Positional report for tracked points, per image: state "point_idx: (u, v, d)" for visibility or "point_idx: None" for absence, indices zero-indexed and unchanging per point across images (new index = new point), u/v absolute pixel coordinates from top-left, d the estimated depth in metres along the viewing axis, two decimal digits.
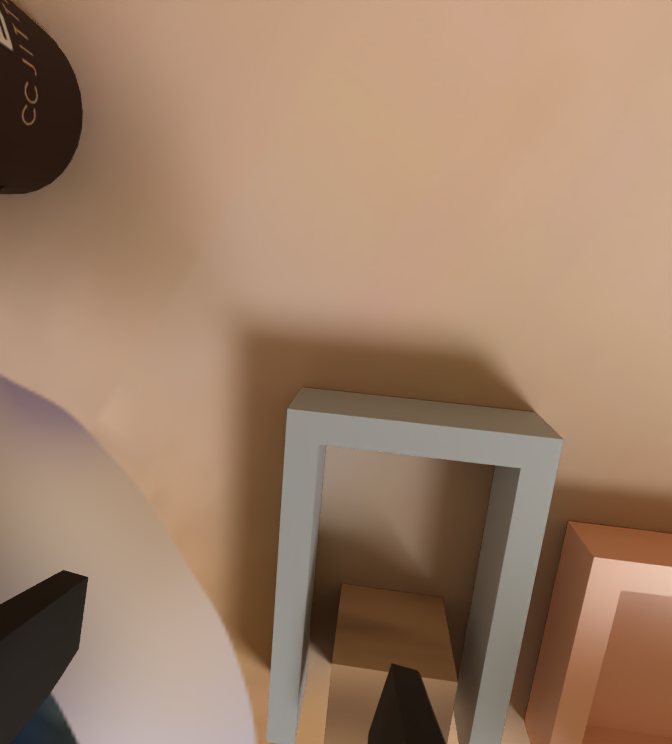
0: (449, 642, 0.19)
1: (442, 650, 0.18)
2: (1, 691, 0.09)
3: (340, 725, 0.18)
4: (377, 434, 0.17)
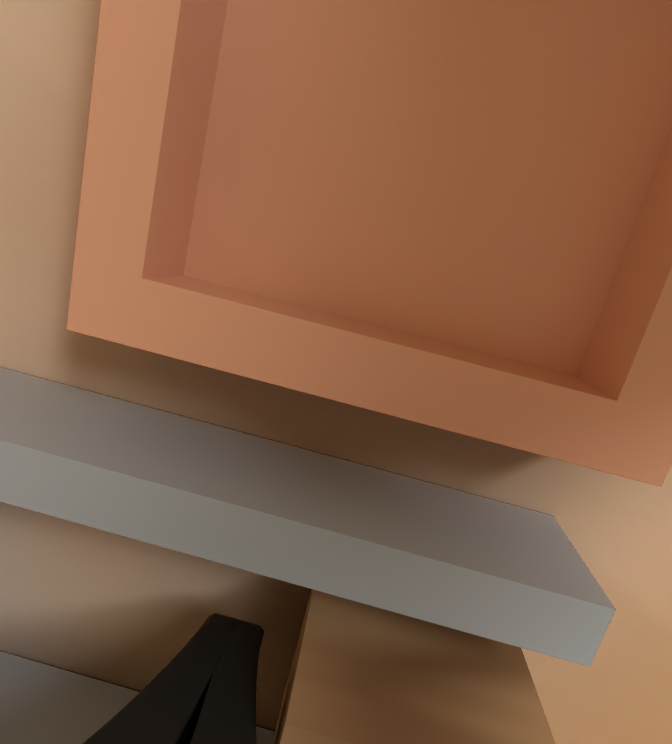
0: (304, 635, 0.09)
1: (295, 669, 0.09)
2: None
3: None
4: None
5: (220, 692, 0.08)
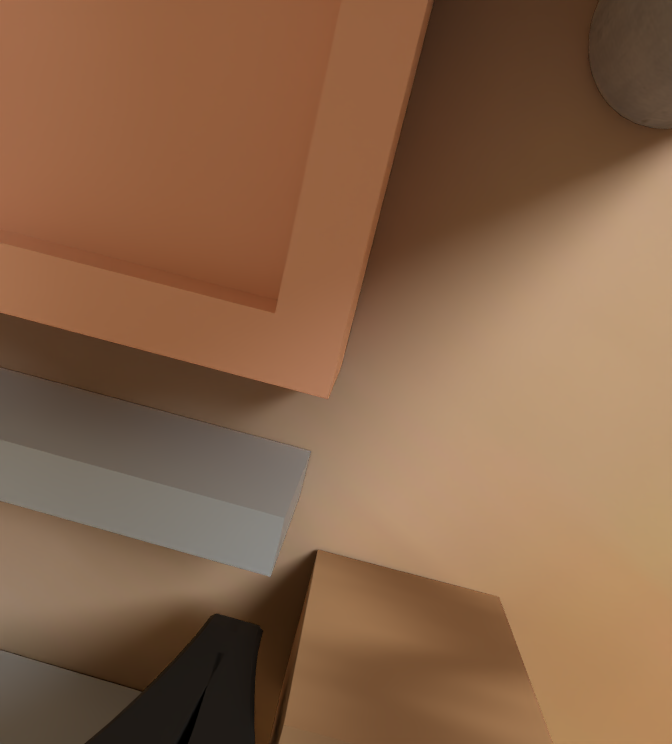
0: (301, 635, 0.09)
1: (293, 669, 0.09)
2: None
3: None
4: None
5: (218, 691, 0.08)
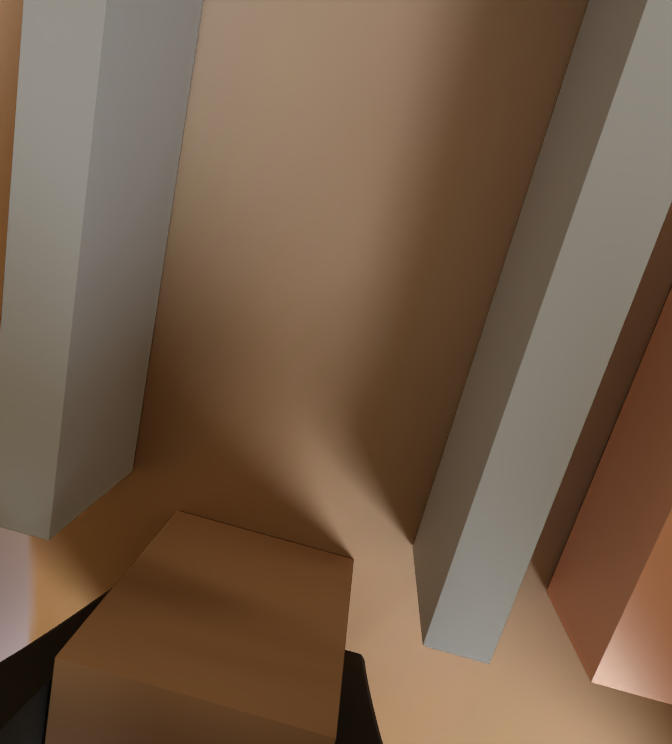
0: (342, 644, 0.09)
1: (323, 660, 0.09)
2: None
3: None
4: None
5: (347, 729, 0.08)
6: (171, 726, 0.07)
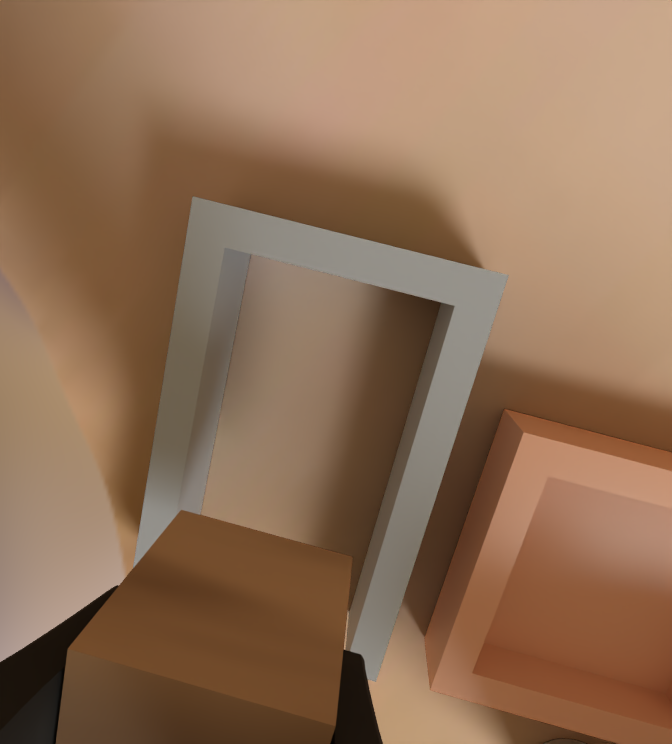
0: (342, 638, 0.09)
1: (323, 652, 0.09)
2: None
3: None
4: (294, 242, 0.14)
5: (347, 729, 0.08)
6: (178, 715, 0.08)
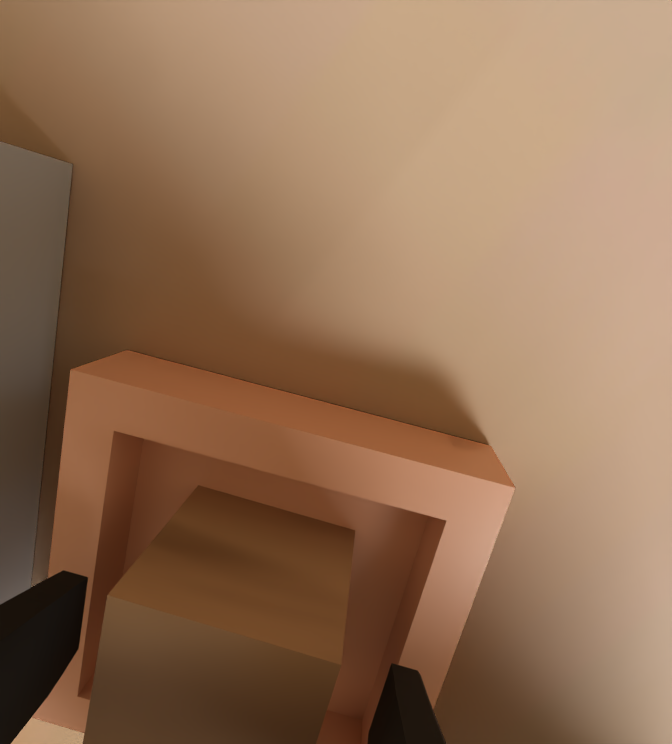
0: (346, 596, 0.10)
1: (330, 607, 0.10)
2: (1, 691, 0.09)
3: (116, 714, 0.09)
4: None
5: None
6: (203, 655, 0.09)
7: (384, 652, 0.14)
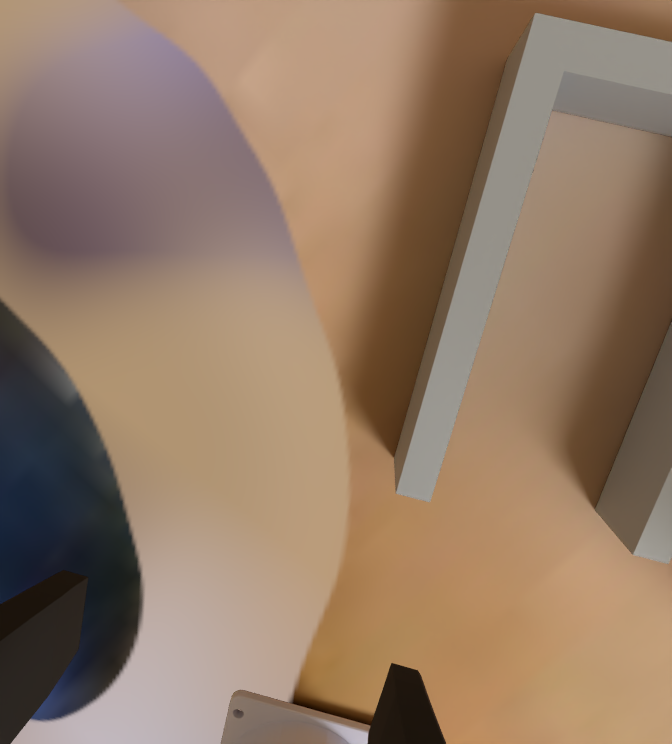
0: None
1: None
2: (1, 691, 0.09)
3: None
4: (645, 61, 0.13)
5: None
6: None
7: None
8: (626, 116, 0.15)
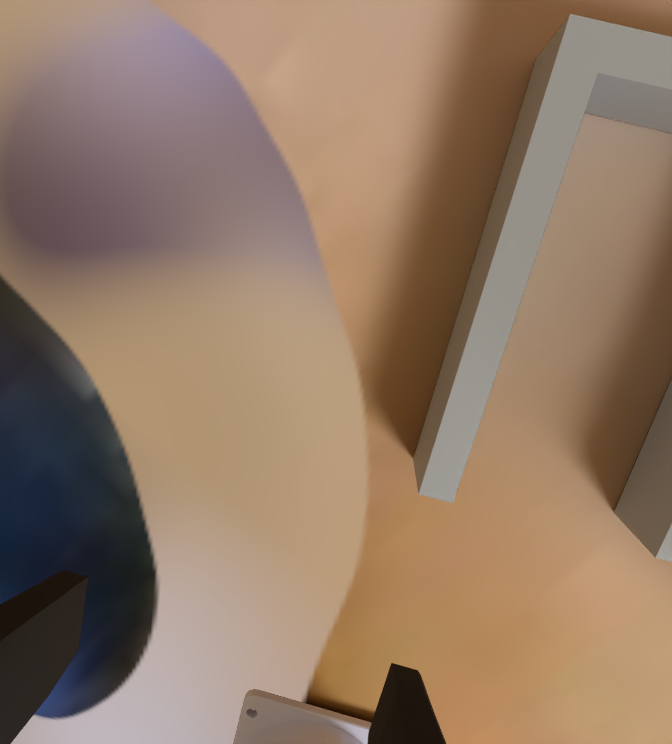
0: None
1: None
2: (1, 691, 0.09)
3: None
4: None
5: None
6: None
7: None
8: (655, 118, 0.15)
